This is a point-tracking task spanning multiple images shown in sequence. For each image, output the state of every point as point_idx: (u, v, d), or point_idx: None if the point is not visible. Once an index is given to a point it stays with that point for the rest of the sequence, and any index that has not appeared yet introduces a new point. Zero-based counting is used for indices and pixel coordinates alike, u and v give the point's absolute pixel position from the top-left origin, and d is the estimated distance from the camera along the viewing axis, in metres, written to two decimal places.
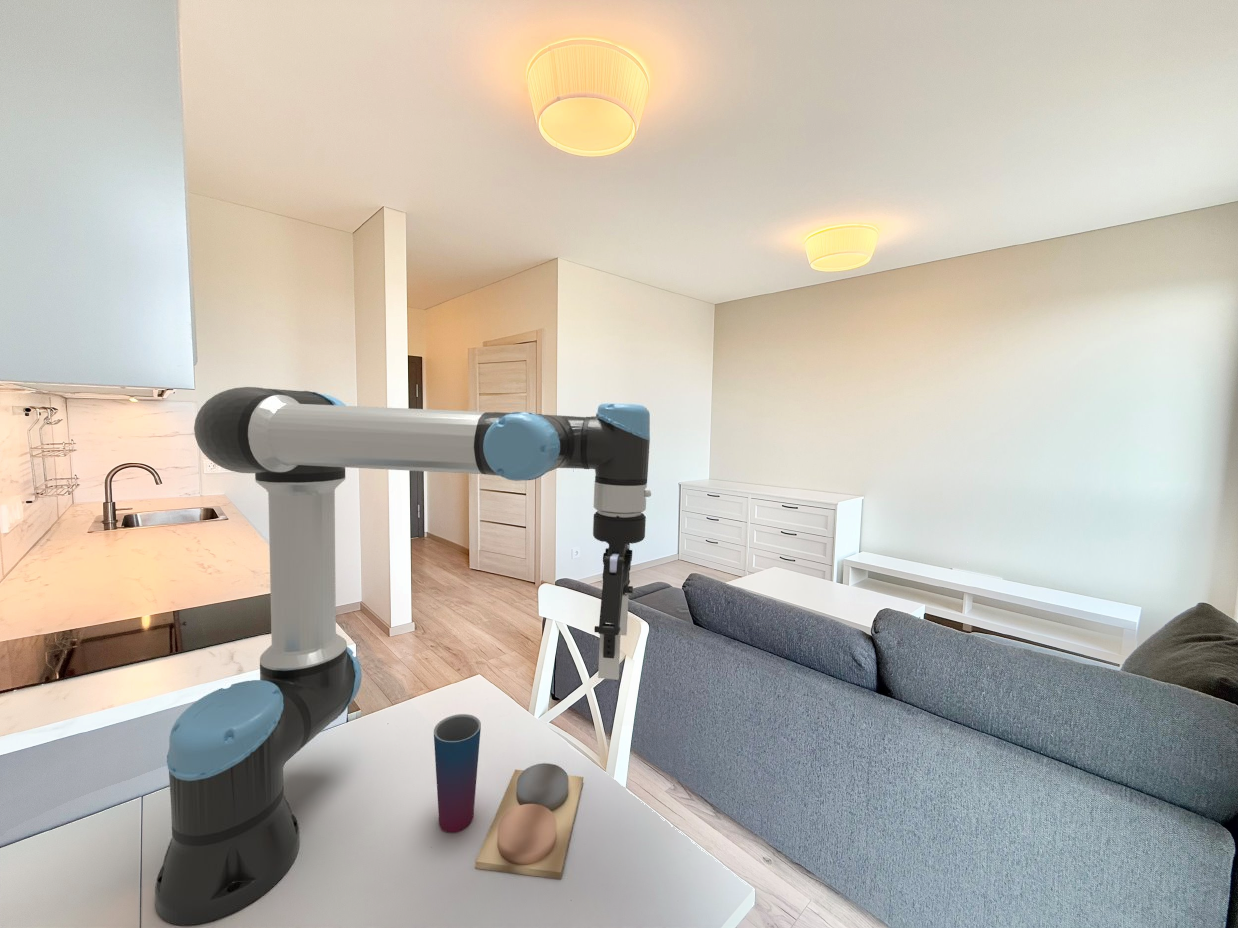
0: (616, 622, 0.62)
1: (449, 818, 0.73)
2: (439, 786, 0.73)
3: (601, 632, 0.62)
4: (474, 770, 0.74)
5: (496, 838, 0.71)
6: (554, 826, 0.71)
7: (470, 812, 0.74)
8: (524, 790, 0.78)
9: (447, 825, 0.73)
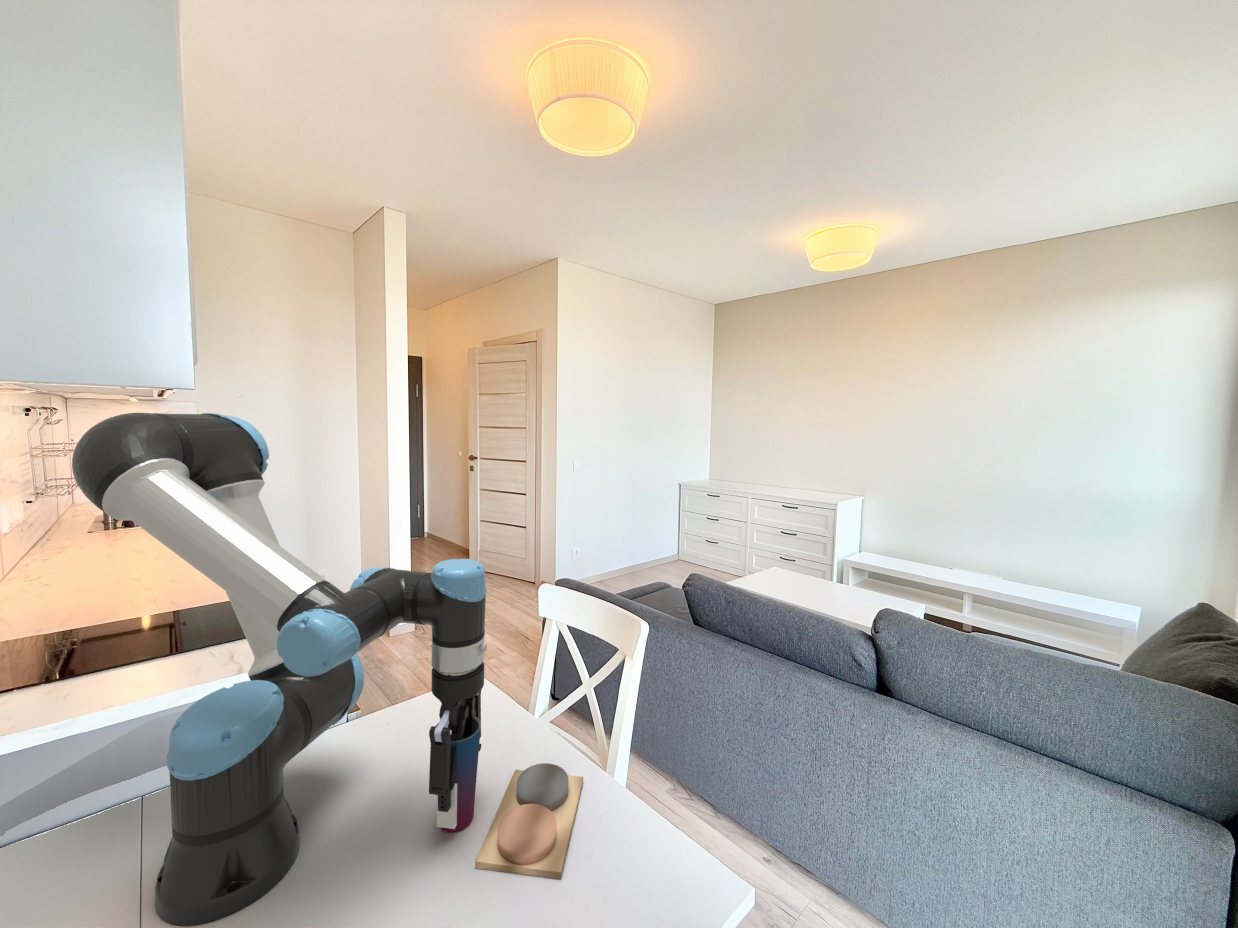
0: (443, 787, 0.68)
1: None
2: None
3: None
4: (474, 770, 0.74)
5: (496, 838, 0.71)
6: (554, 826, 0.71)
7: (470, 812, 0.74)
8: (524, 790, 0.78)
9: None
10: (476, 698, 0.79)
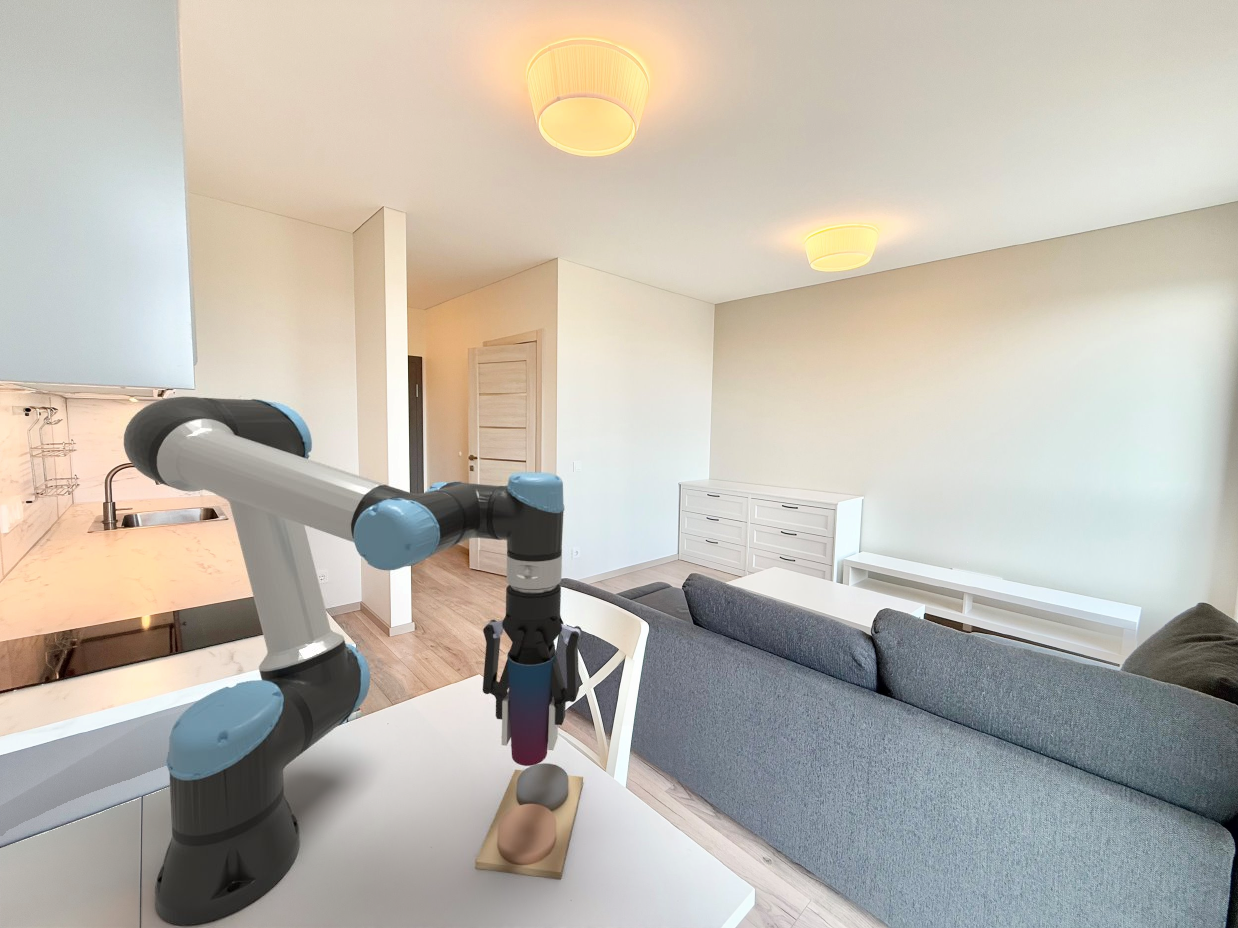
0: None
1: None
2: None
3: None
4: (521, 707, 0.66)
5: (496, 838, 0.71)
6: (554, 826, 0.71)
7: (520, 751, 0.67)
8: (524, 790, 0.78)
9: None
10: (566, 647, 0.67)
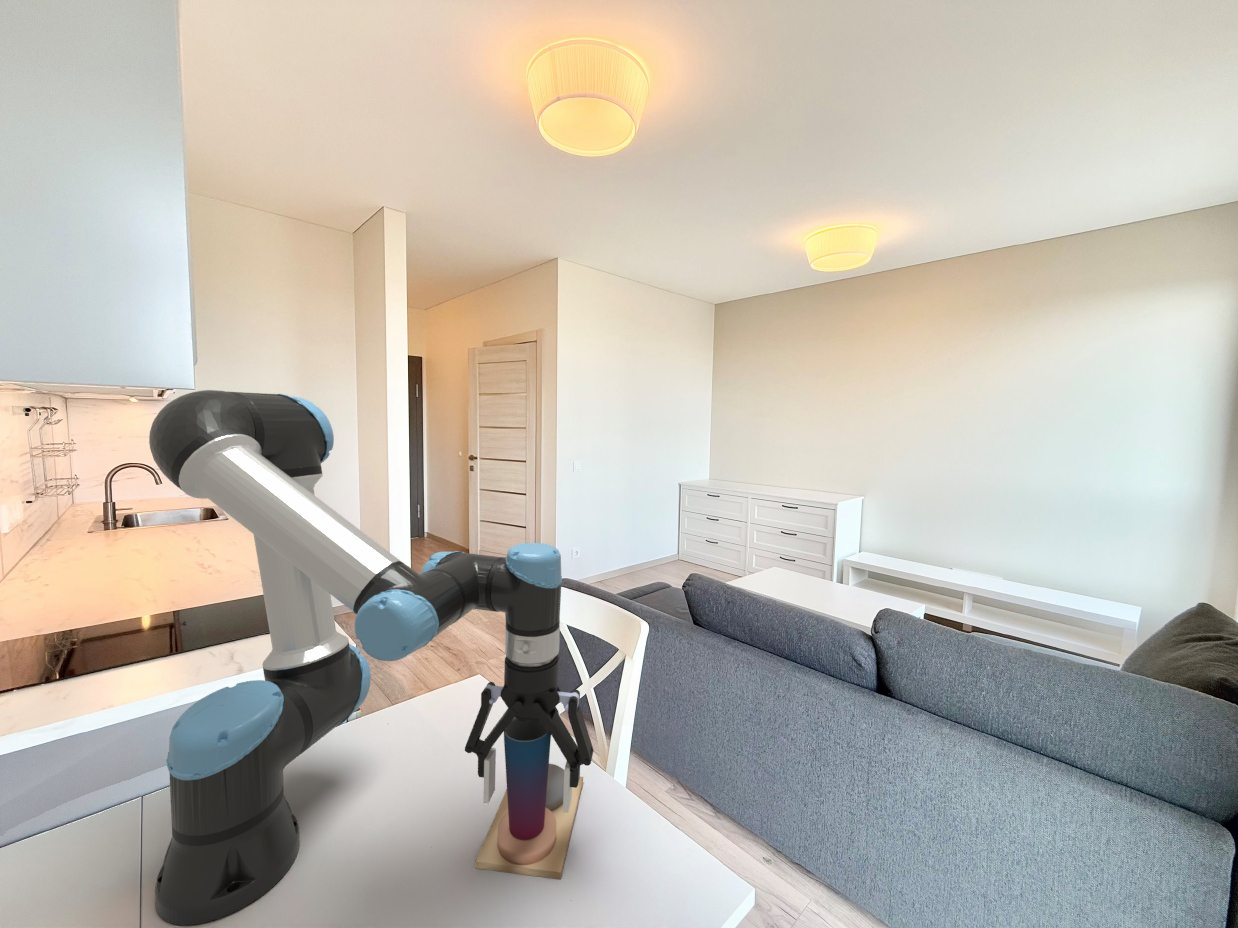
0: None
1: None
2: None
3: None
4: (517, 782, 0.68)
5: (496, 838, 0.71)
6: (554, 826, 0.71)
7: (517, 825, 0.69)
8: None
9: None
10: (568, 713, 0.68)
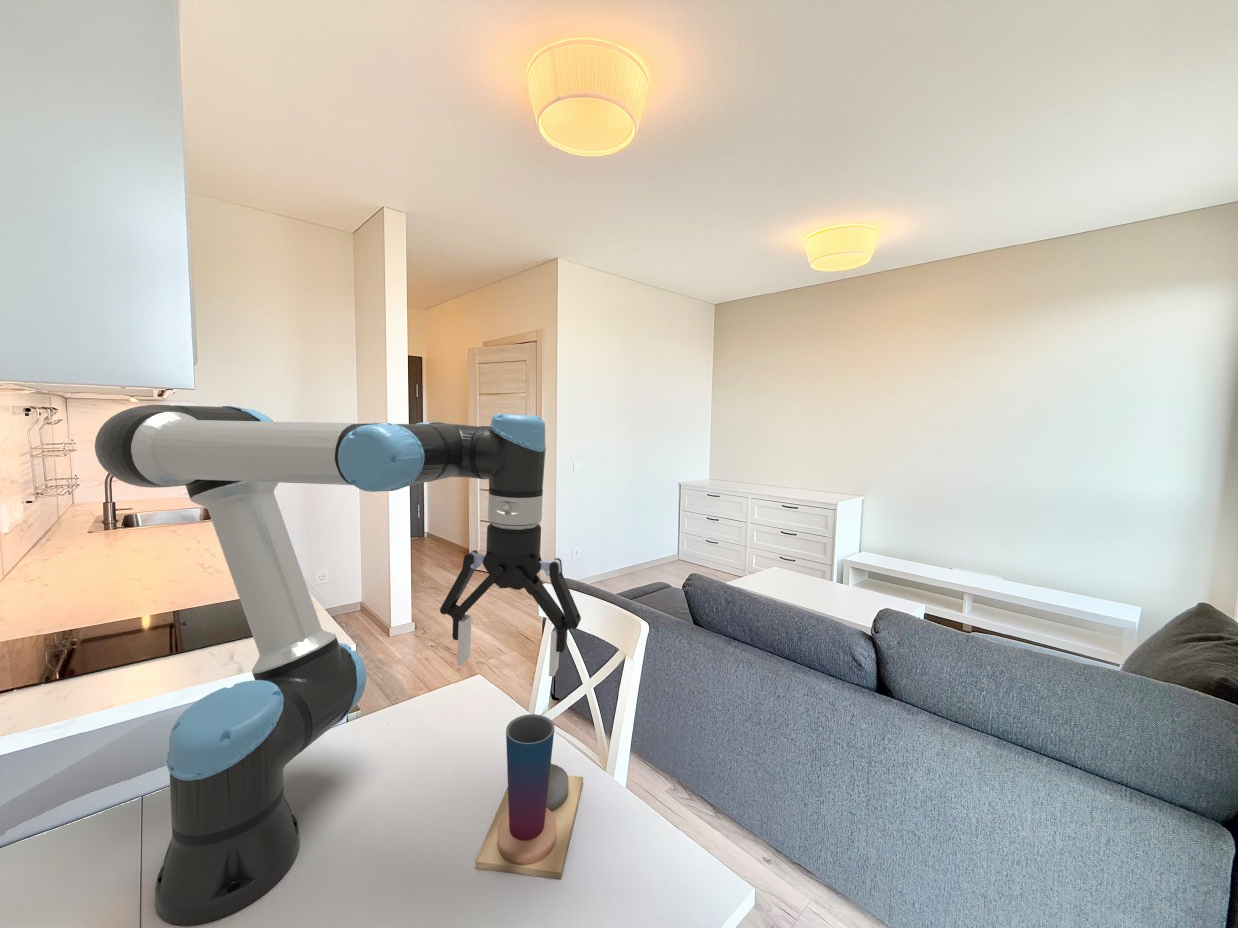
0: None
1: None
2: None
3: None
4: (519, 783, 0.67)
5: (496, 838, 0.71)
6: (554, 826, 0.71)
7: (517, 826, 0.68)
8: None
9: None
10: (550, 579, 0.69)
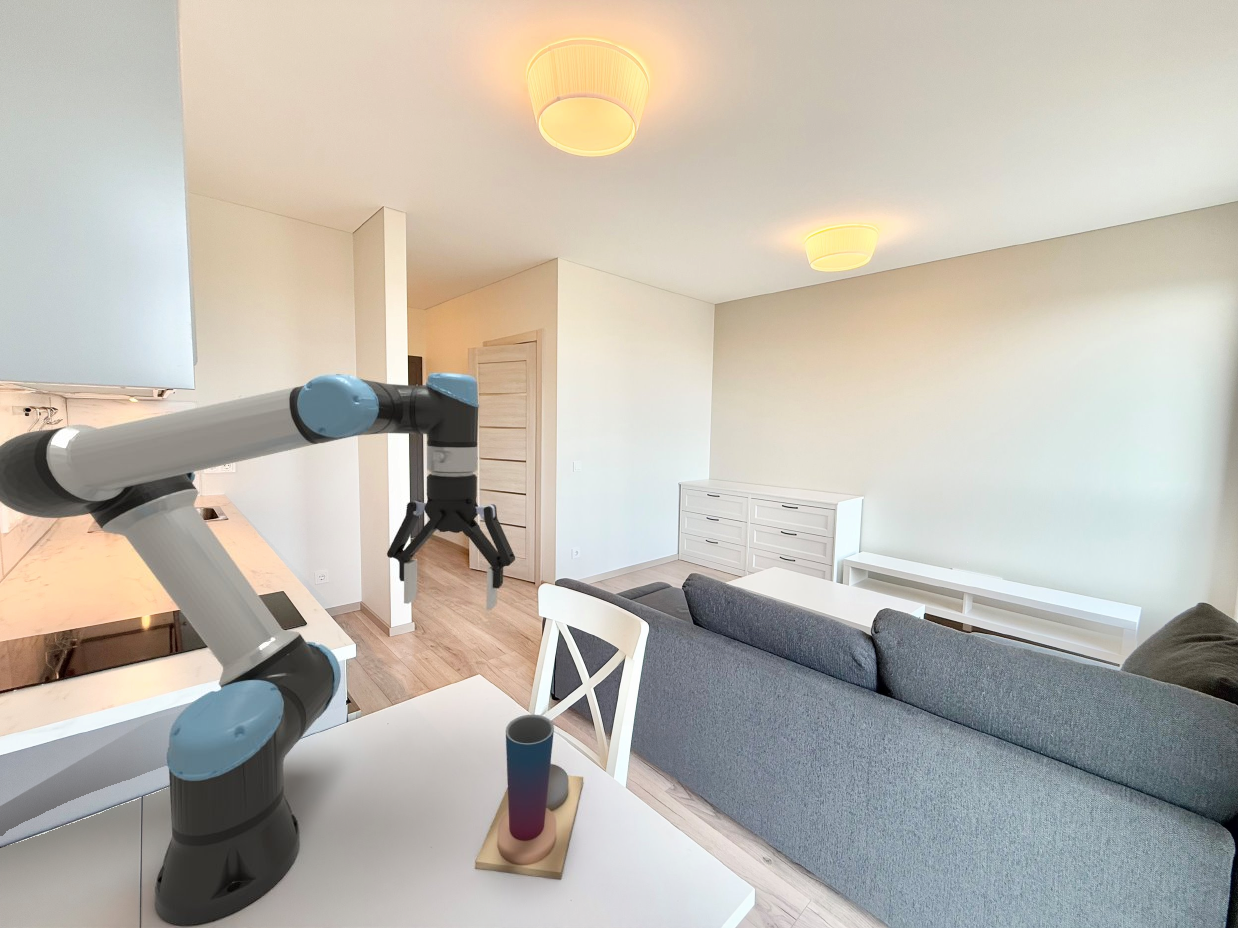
0: (390, 547, 0.78)
1: None
2: None
3: None
4: (518, 784, 0.67)
5: (496, 838, 0.71)
6: (554, 826, 0.71)
7: (517, 826, 0.68)
8: None
9: None
10: (485, 522, 0.76)
